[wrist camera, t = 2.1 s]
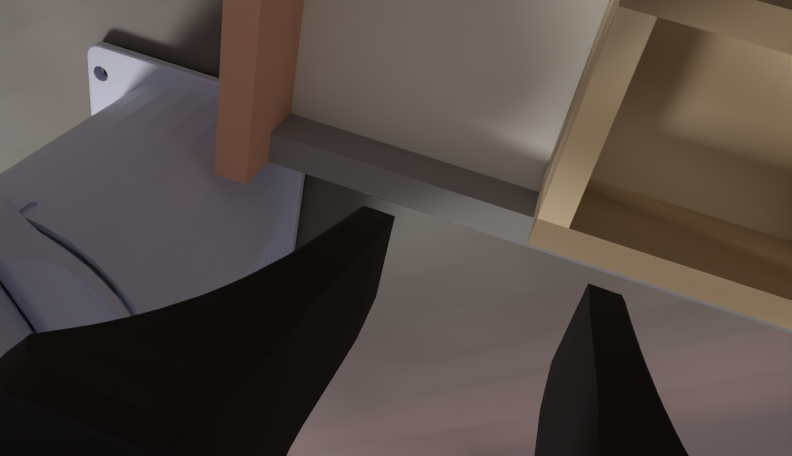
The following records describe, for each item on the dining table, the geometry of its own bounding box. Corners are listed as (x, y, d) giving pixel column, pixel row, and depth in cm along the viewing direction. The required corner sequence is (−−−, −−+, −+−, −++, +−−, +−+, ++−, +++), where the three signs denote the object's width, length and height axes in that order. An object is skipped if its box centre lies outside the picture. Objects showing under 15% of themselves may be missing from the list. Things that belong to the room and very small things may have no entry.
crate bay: (850, 304, 21) (888, 399, 18) (271, 119, 24) (214, 174, 20) (1105, -27, 16) (1227, 27, 12) (307, -231, 18) (235, -231, 15)
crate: (817, 266, 20) (847, 348, 17) (542, 179, 21) (527, 243, 18) (984, 27, 16) (1060, 84, 13) (634, -67, 17) (633, -34, 14)
